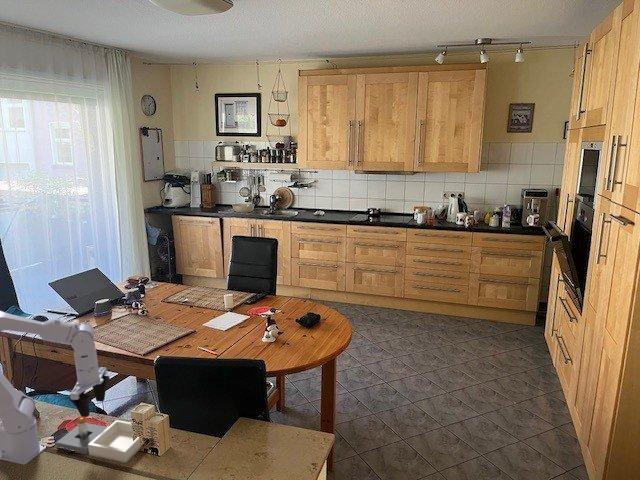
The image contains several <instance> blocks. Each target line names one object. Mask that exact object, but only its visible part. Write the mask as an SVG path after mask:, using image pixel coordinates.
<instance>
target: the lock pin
mask: <svg viewBox="0 0 640 480" xmlns="http://www.w3.org/2000/svg"><path fill="white" fill-rule="evenodd" d="M76 422H77V426H78V431H79V439H86V438H87V437H88V428H87V423H88V421H87V417H82V416H81V415H80V416H78V417H77V419H76Z"/></svg>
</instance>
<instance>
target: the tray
mask: <svg viewBox="0 0 640 480" xmlns="http://www.w3.org/2000/svg"><path fill="white" fill-rule="evenodd" d="M131 423H132V422H130V421H124V420H120V419H116V420H114V422H112V423H111V424H110V425H109V426H107V427H108V428H107V429H105V430H104V431H103V432H102V433H101V434H100V435H98V436H97V437H96V438H95V439H94V440H93V441H91V442H90V443H89V444H88V449H89V453H88V455H89V456H91V457H95V458H100V459H104V460H105V459H106V460H109V461H114V462H119V463H124V464H127V463H128V462H129V461H130V460H131V459H132V458H133V457H134V456H135V454H136V453H137V452H139V451H140V449H141V448H140V438H139V437H137V438H136V439H135V440H134V441H133V438H132V424H131Z"/></svg>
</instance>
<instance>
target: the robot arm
mask: <svg viewBox="0 0 640 480" xmlns="http://www.w3.org/2000/svg"><path fill="white" fill-rule="evenodd" d="M4 331H10V332H18V333H26V334H30V335H31V334H33V335H39V337H40V338H41V339H42V341H46V342H52V343H56V344H57V343H58V344H63V345H67V346H69V345H70V346H71V348H72V349H73V352H74V353H73V357H74V364H75V365H74V366H75V371H76V377H77V381H76V384H75V385H74V388H73V389H72V390H71V392H70V393H69V396H68V399H69V401H70V402H71V403H72V404H74V406H75V407H76V409H77V411H78V412H79V415H80V416H82V417H86V418H88V417H90V402H91V398H92V397H91V396H92V395H91V394H86V393H85V392H86V391H88V390H89V389H91V388H92V389H93V393H94V397H95V400H96V402H104V401H105V397H106V391H107V387H108V383H109V381H110V378H111V377H110V376H109V375H107V374H108V371H107V367H103V366H102V367H99V362H98V355H97V349H96V343H95V329H94V326H92V325H91V324H89V323H87V322H80V323H78V322H75V323H70V322H66V321H62V320H61V318H54V319H50V318H49V319H47V320H46V321H39V320H35V319H31V318H27V317H25V316H20V315H15V314H11V313H8V312H5V311H2V310H0V333H1V332H4ZM35 409H36V401H35V400H34V399H33V398H32V397H30V396H29V395H26V394H25V393H24V392H23V391H22V390H16V388H15V387H14V386H13V385H12V383H11V382H10V381H9V380H8V378H7V377H6V376H5V375H4V373H3V372H2V371H1V370H0V419H1V421H2V426H1V427H0V460H3V461H7V462H10V463H14V464H20V465H23V466H24V465H27V464H28V463H29V462H31V461H32V460H33V459H34V458H36V457H37V456H38V455H39V454H41V453H42V452H43V451H45V450H46V449H47V448H46V446H44V447H43V446H41V445H40V444H41V443H40V439H39V432H38V426H37V425H38V423H37V418H36V417H35V416H34V415H33V414H34V410H35Z"/></svg>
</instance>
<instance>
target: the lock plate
mask: <svg viewBox="0 0 640 480" xmlns="http://www.w3.org/2000/svg"><path fill="white" fill-rule="evenodd" d="M108 427H109V426H103V425H98V424H93V423H89V422H87V428H88V437H87V438H86V439H79V431H78V425H77V426H75V427H74V428H73V429H71V430H70V431H68V432H67V433H66V434H64V435H63V436H62V437H61V438H60V439H58V440H57V441H56V445H55V446H56V448H57V447H64V448H68V449H71V450H74V451H75V452H74V453H77V454H81V455H85V456H87V455H89V449H88V444H89V443H90V442H91V441H93V440H94V439H95V438H96V437H97V436H98V435H100V434H101V433H102V432H103V431H104V430H105V429H107V428H108Z"/></svg>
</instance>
